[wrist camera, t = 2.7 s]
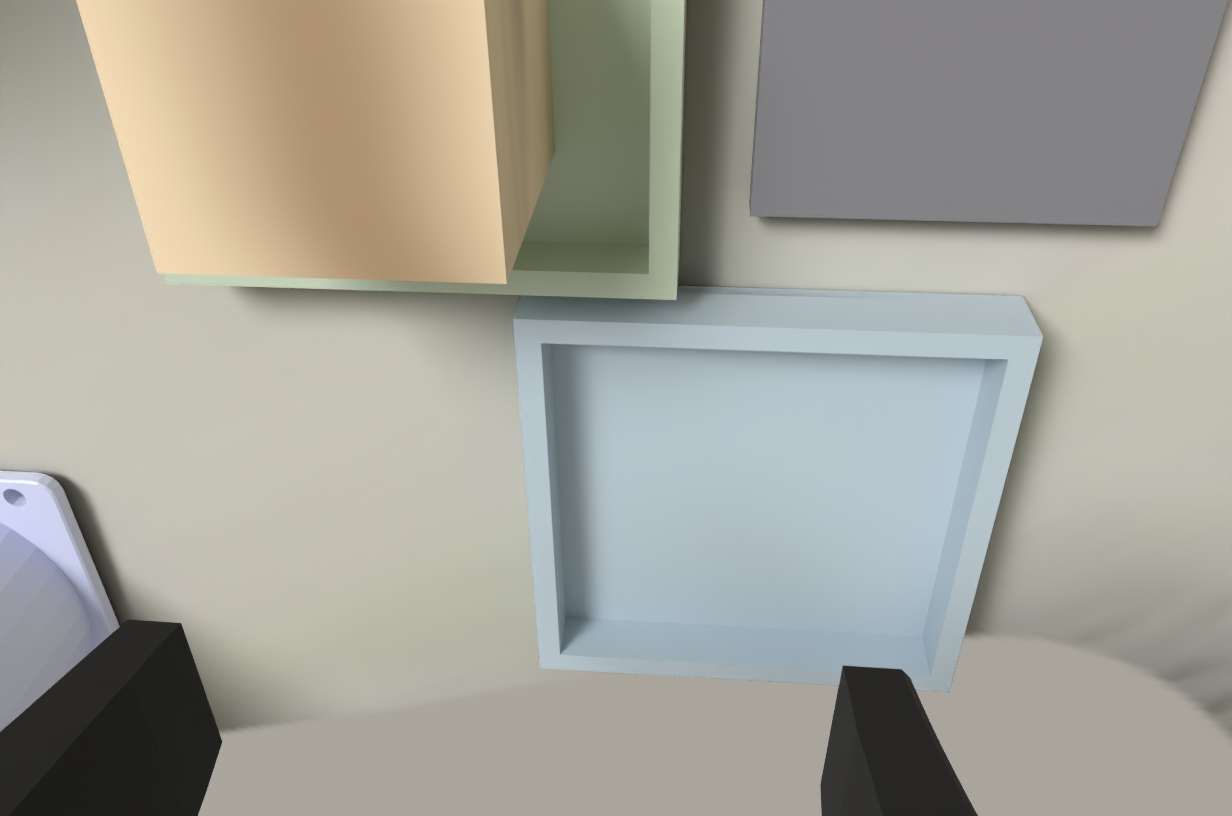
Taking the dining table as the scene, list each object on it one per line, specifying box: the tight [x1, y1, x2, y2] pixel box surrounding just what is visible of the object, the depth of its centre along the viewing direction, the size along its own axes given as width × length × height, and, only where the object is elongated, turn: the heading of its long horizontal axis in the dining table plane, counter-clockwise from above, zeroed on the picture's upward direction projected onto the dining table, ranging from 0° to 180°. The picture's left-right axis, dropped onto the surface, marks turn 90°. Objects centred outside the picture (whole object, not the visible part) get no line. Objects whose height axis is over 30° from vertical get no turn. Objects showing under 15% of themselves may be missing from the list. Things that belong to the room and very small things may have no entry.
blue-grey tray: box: [513, 286, 1043, 692], centre depth 22 cm, size 10×10×2 cm
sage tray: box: [162, 0, 687, 300], centre depth 17 cm, size 10×10×2 cm
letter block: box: [76, 0, 555, 284], centre depth 15 cm, size 5×5×5 cm
